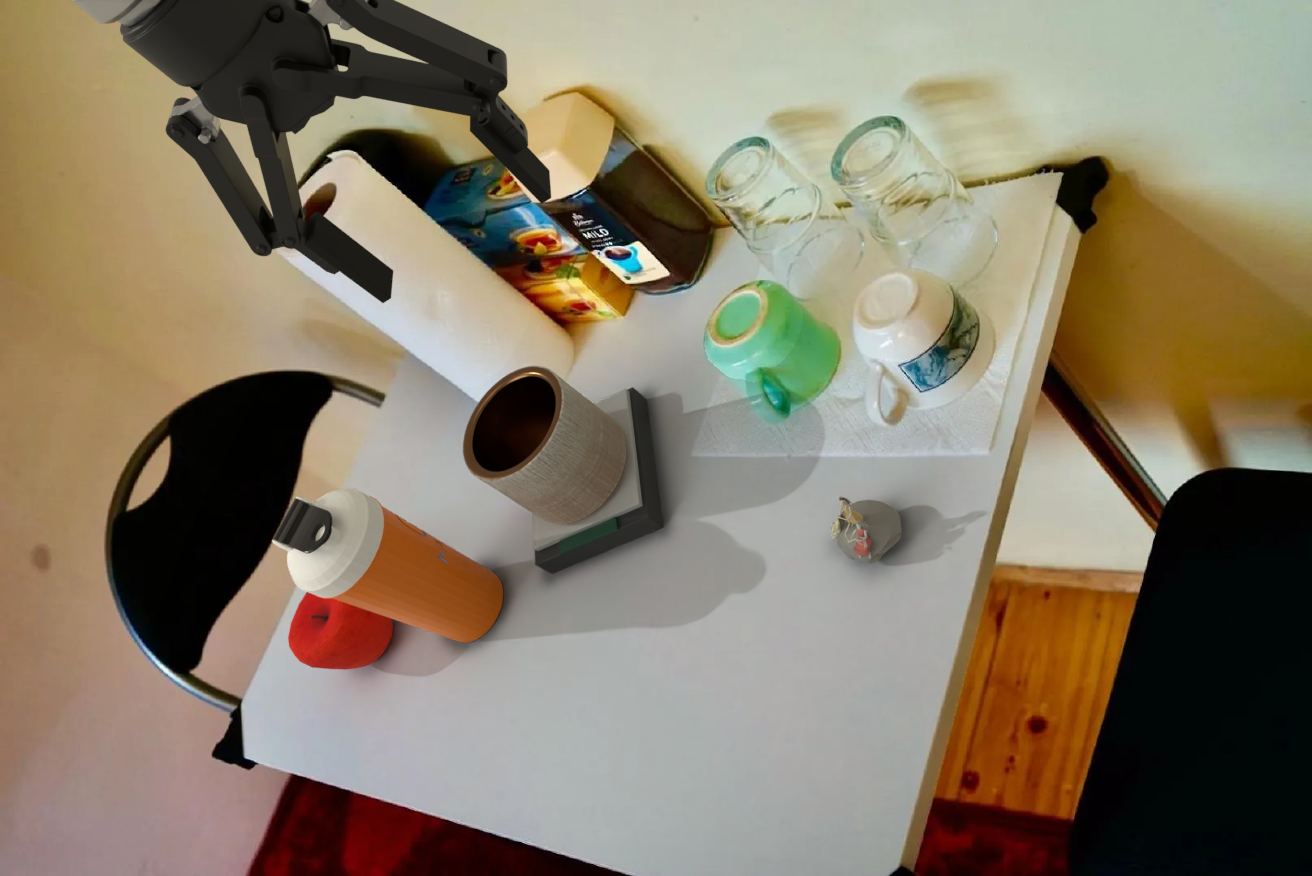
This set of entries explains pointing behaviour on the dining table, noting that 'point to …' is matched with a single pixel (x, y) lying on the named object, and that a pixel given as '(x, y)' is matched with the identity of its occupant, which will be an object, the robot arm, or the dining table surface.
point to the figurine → (866, 529)
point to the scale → (624, 510)
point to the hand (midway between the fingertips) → (464, 239)
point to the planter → (545, 446)
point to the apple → (337, 634)
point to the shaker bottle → (386, 566)
